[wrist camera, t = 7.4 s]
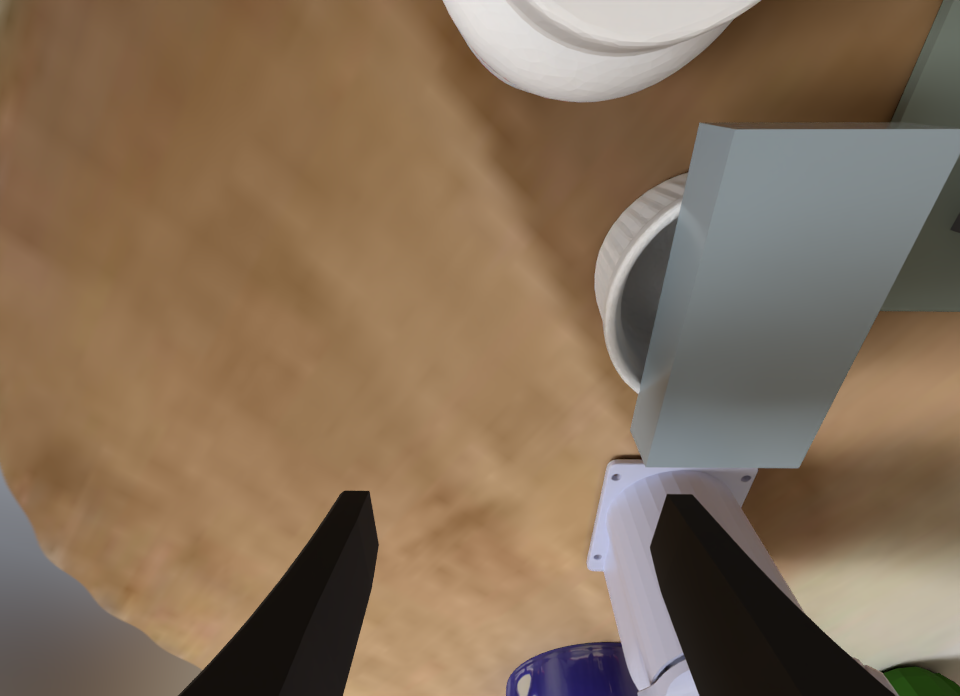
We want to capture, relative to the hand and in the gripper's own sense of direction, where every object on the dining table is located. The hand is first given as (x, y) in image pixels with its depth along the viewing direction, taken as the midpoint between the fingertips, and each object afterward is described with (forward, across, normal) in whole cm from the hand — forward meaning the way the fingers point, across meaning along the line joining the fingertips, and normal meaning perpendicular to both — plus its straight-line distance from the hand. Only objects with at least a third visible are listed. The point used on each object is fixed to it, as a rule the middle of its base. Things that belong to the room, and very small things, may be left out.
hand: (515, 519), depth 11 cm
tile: (+6, -8, -3) cm, 10 cm away
